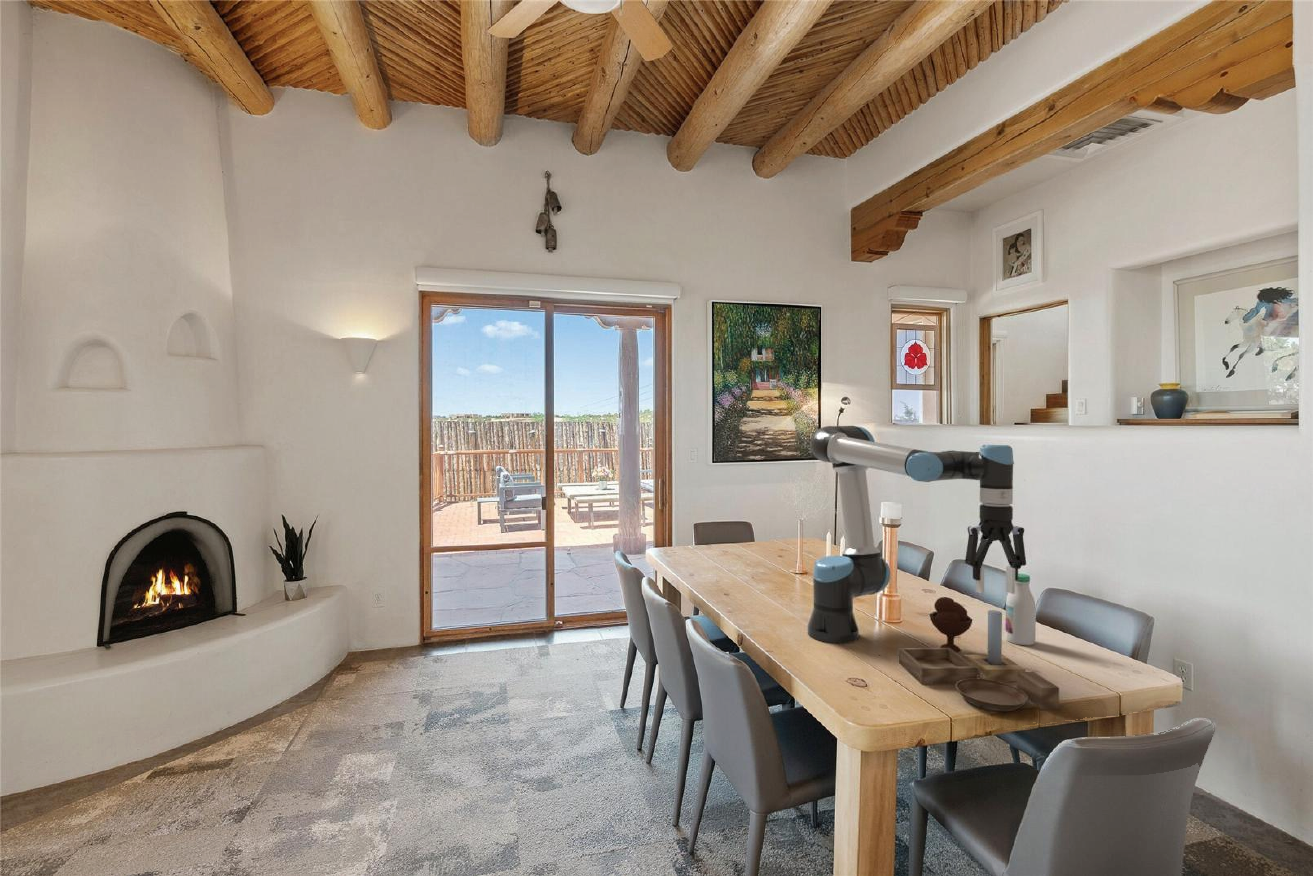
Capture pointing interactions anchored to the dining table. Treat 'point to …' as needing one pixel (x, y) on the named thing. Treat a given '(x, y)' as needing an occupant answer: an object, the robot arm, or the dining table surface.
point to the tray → (936, 665)
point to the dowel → (994, 637)
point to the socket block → (995, 668)
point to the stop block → (1038, 690)
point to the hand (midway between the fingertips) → (995, 592)
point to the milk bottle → (1021, 613)
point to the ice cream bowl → (950, 620)
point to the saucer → (991, 694)
